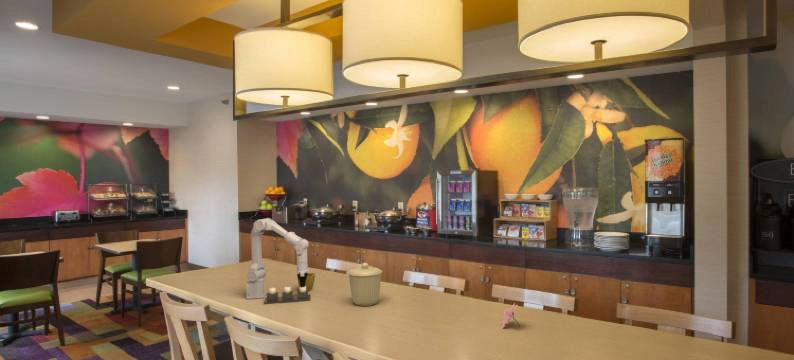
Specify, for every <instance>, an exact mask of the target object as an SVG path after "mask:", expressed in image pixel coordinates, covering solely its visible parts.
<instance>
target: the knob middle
mask: <svg viewBox="0 0 794 360" xmlns="http://www.w3.org/2000/svg"><path fill="white" fill-rule="evenodd" d="M291 291H292V286H291V285H290V286H283V292H284V294H290V293H291Z"/></svg>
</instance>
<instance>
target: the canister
mask: <svg viewBox="0 0 794 360" xmlns="http://www.w3.org/2000/svg"><path fill="white" fill-rule="evenodd" d="M382 274H383V270H382V269H380V268H378V267H376V266H369V263H368V262H362V263H361V266H357V267H355V268H352V269H350V270H348V271H347V275H348V279H349V288H350V293H351V299H352V302H353V304H354V305H357V306H360V307H362V306H363V307H367V306H373V305H375V304H377V303H378V302H379V300H380V292H381V283H382V281H381V280H382Z"/></svg>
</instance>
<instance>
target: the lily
mask: <svg viewBox="0 0 794 360" xmlns="http://www.w3.org/2000/svg"><path fill="white" fill-rule="evenodd" d="M518 306H519V305H518V304H516V303H515V302H514V303H513V304H512V306H510V307H511V308H506V309H505V310H504V311H503V316H504V318H503V320H502V321H501V323H500V324H502V325H501V329H504V327H505V324H506V323H507V322H509V321H513V320H514V321H515V322H516V324H518V326H519V327H520V326H521V325H520V324H519V322H518V320H517V319H516V318H515V313H514V311H515V310H516V308H517V307H518Z"/></svg>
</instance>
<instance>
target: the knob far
mask: <svg viewBox="0 0 794 360" xmlns="http://www.w3.org/2000/svg"><path fill="white" fill-rule="evenodd" d="M298 289H299V290H298V291H299V293H305V292H306V286H305V287H299V286H298Z"/></svg>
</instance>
